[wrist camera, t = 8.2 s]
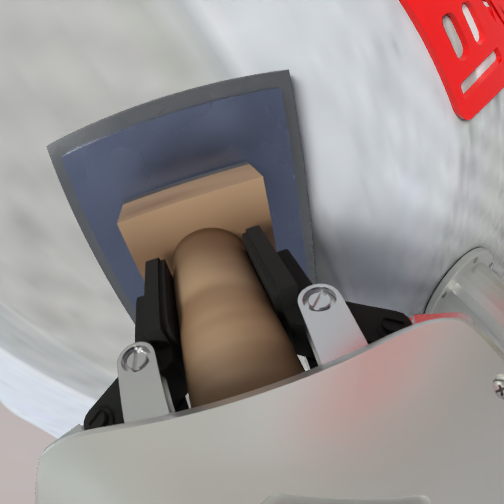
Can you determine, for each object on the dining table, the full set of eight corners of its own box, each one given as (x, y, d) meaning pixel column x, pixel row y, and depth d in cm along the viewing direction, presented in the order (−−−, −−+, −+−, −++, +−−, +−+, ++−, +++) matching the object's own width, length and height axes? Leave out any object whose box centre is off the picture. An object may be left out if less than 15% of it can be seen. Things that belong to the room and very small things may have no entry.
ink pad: (309, 280, 21) (320, 295, 19) (149, 333, 20) (149, 352, 18) (279, 70, 13) (293, 69, 12) (54, 141, 12) (41, 148, 10)
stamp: (268, 263, 17) (355, 417, 9) (166, 295, 16) (190, 471, 8) (246, 161, 13) (379, 298, 5) (124, 200, 13) (84, 393, 5)
